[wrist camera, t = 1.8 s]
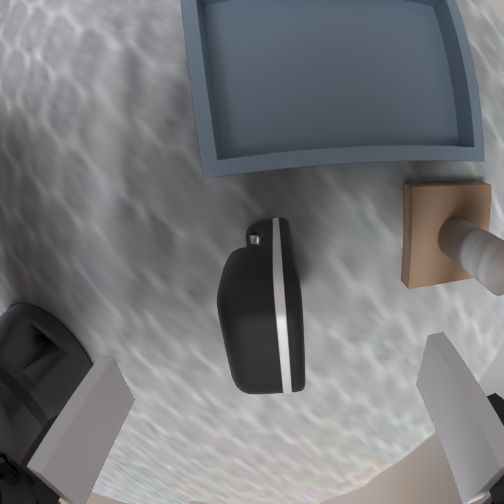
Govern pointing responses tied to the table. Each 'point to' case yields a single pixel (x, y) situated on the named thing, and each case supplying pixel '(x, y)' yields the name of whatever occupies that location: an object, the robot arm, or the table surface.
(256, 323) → the battery charger
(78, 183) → the table surface
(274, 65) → the parts tray
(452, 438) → the robot arm
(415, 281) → the wooden base with post
